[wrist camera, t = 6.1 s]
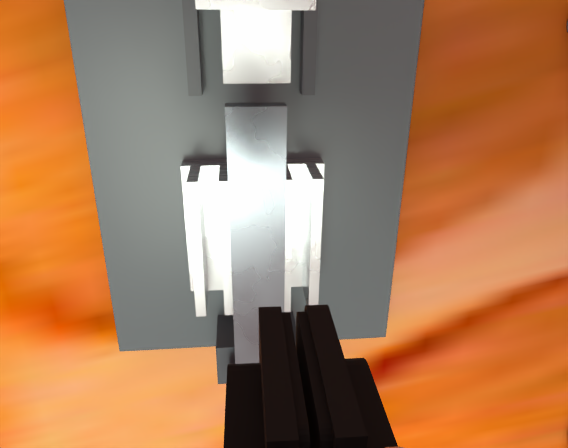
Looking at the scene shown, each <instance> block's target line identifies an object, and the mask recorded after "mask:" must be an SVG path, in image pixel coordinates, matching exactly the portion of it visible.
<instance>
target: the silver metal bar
mask: <svg viewBox="0 0 568 448" xmlns="http://www.w3.org/2000/svg"><path fill="white" fill-rule="evenodd" d="M225 122H226V147H227V172H228V197H229V221H230V246H231V271H232V296H233V321H234V345H235V364H245V363H259V316H258V308H259V307H274V306H281V309H282V312H284V290H285V219H286V148H287V105H286V103H285V102H262V103H225Z"/></svg>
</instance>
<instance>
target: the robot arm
mask: <svg viewBox="0 0 568 448" xmlns="http://www.w3.org/2000/svg"><path fill="white" fill-rule="evenodd" d="M258 316H259V363H245V364H228V365H227V383H226V406H225V430H224V448H403V447H398V445H397V443H396V440H395V437H394V434H393V432H392V429H391V426H390V423H389V421H388V418H387V415H386V412H385V410H384V407H383V404H382V401H381V399H380V396H379V393H378V390H377V388H376V385H375V382H374V379H373V377H372V374H371V371H370V368H369V366H368V363H367V361H366V360H365V359H364V358H353V359H345V358H344V355H343V352H342V349H341V345H340V342H339V339H338V335H337V332H336V329H335V325H334V322H333V319H332V315H331V312H330V309H329V306H328V305H305V309H304V311H302V312H297V313H296V345H295V339H294V332H293V326H292V320H291V314H290V312H282V309H281V306H274V307H259V308H258Z"/></svg>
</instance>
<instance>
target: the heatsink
mask: <svg viewBox="0 0 568 448" xmlns="http://www.w3.org/2000/svg"><path fill="white" fill-rule="evenodd" d="M324 165H325V163H324V162H323V160H322V158H287V159H286V219H285V290H284V312H291V287H301V286H302V288H303V292H304V296H305V300H306V304H307V305H318V301H319V279H320V257H321V234H322V212H323V190H324ZM181 176H182V188H183V201H184V213H185V226H186V238H187V250H188V263H189V275H190V288H191V291H194V295H195V308H196V317H199V316H206V315H207V303H208V291H209V290H223V291H224V312H225V315H233V296H232V271H231V246H230V221H229V197H228V172H227V160H183V161H182V164H181Z"/></svg>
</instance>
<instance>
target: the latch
mask: <svg viewBox="0 0 568 448" xmlns="http://www.w3.org/2000/svg"><path fill="white" fill-rule="evenodd" d="M195 6H196V9H205V10H220V14H221V39H222V64H223V84H246V83H291V19H292V10H316V0H195Z"/></svg>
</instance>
